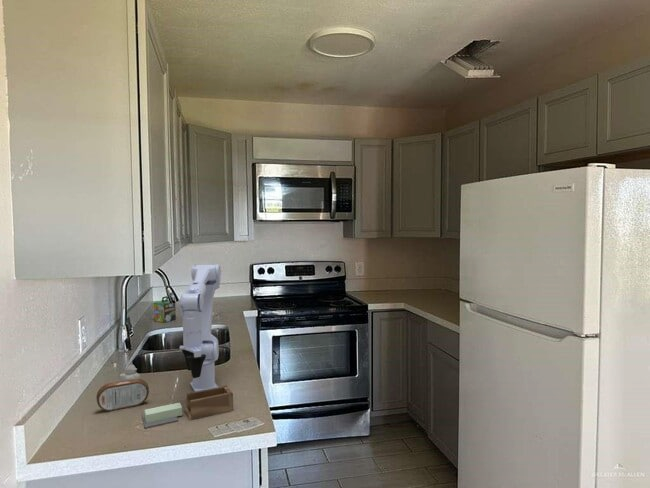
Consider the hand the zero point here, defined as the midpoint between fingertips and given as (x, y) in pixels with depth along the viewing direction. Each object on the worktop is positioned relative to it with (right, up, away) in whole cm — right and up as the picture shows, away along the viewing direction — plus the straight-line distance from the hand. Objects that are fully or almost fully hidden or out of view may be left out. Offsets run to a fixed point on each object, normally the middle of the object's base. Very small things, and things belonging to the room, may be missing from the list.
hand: (193, 373), depth 133 cm
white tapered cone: (-29, -10, +20) cm, 37 cm away
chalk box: (-54, -5, +119) cm, 131 cm away
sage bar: (-7, -11, -8) cm, 15 cm away
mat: (-8, -11, -8) cm, 16 cm away
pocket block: (+6, -11, -3) cm, 12 cm away
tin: (-22, -11, 0) cm, 25 cm away
